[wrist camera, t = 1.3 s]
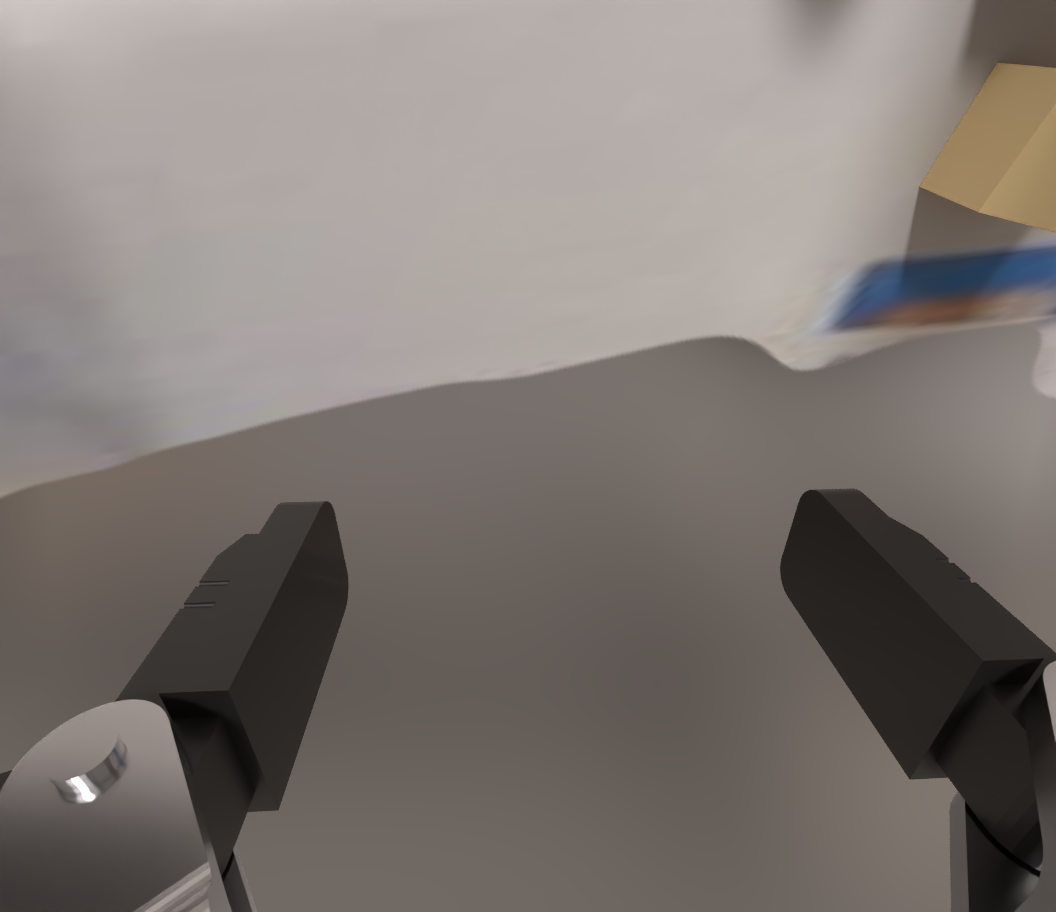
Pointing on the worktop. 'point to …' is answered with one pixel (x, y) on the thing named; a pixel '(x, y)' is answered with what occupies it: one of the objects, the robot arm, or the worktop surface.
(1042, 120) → the block
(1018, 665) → the robot arm
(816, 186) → the worktop surface
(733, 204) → the worktop surface
